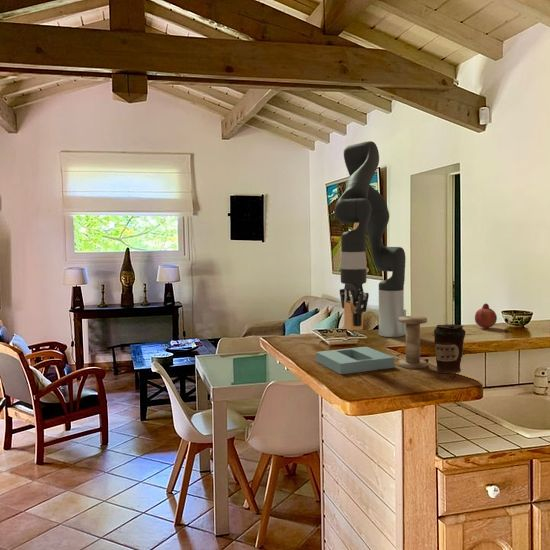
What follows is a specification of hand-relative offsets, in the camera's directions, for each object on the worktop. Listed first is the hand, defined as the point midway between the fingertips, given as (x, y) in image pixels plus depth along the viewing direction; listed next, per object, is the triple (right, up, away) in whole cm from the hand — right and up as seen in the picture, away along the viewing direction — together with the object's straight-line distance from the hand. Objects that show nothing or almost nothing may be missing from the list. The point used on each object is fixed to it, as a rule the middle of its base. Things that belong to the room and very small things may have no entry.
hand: (353, 324), depth 159 cm
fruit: (+60, -7, +53) cm, 80 cm away
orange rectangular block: (0, -1, 0) cm, 1 cm away
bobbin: (+17, -12, -1) cm, 21 cm away
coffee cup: (+25, -13, -9) cm, 30 cm away
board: (0, -12, +1) cm, 12 cm away
